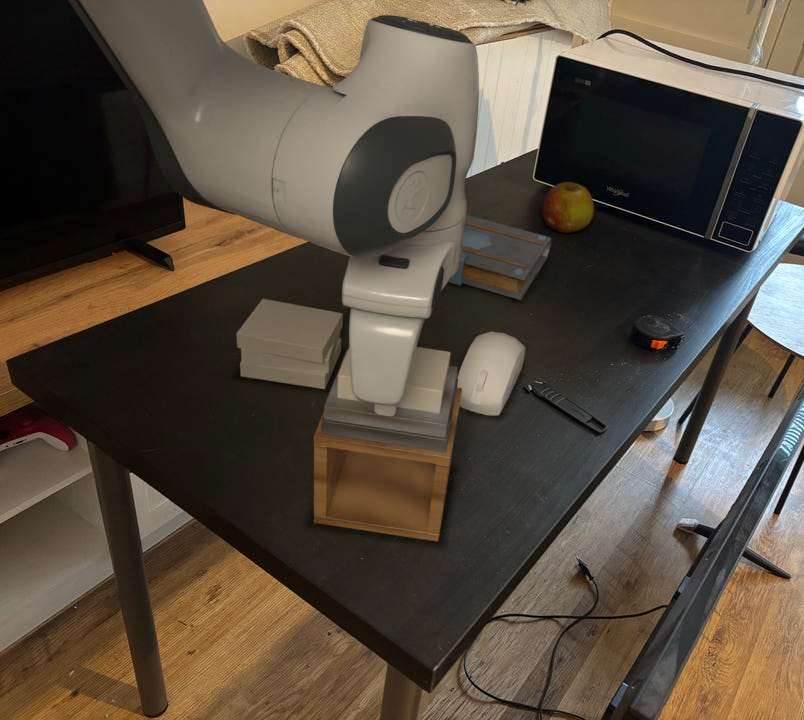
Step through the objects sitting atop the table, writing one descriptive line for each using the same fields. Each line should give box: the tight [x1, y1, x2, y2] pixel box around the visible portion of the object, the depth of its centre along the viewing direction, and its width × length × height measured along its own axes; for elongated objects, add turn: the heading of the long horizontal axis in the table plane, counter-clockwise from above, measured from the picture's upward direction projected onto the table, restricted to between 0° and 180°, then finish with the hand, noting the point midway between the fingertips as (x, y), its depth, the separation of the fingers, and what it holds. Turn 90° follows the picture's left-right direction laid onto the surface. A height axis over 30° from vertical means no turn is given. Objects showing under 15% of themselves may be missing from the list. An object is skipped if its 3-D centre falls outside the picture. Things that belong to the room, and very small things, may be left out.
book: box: [447, 214, 552, 301], centre depth 115 cm, size 21×16×5 cm
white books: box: [235, 298, 344, 390], centre depth 88 cm, size 9×10×6 cm
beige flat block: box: [337, 346, 452, 413], centre depth 65 cm, size 6×9×2 cm, turn 85°
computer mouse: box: [456, 331, 526, 416], centre depth 90 cm, size 6×13×6 cm, turn 163°
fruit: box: [541, 181, 595, 234], centre depth 129 cm, size 10×9×8 cm
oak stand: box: [313, 349, 462, 543], centre depth 70 cm, size 10×12×14 cm
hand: (395, 379), depth 66 cm, fingers open, 7 cm apart
